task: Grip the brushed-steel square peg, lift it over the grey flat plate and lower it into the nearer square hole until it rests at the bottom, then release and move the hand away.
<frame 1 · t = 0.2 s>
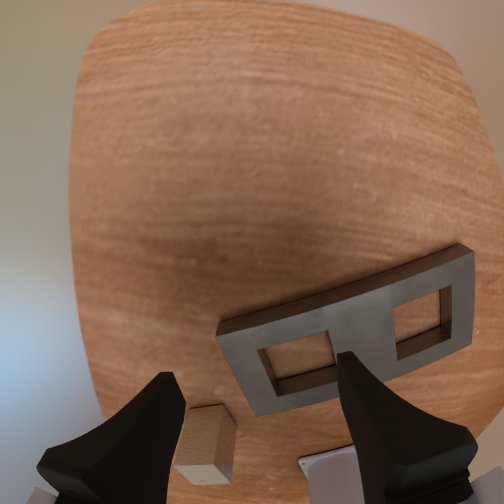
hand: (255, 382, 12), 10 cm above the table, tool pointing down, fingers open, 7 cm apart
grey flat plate: (359, 332, 22), on the table
steel peg: (213, 418, 26), on the table
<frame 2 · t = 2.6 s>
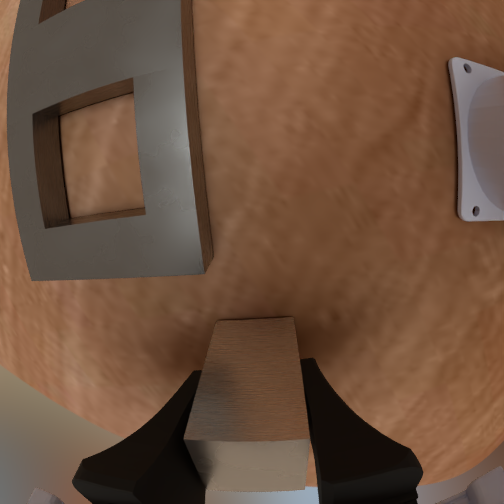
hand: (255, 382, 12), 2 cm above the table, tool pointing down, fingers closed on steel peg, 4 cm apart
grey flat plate: (100, 55, 10), on the table
steel peg: (257, 350, 14), on the table, touching gripper
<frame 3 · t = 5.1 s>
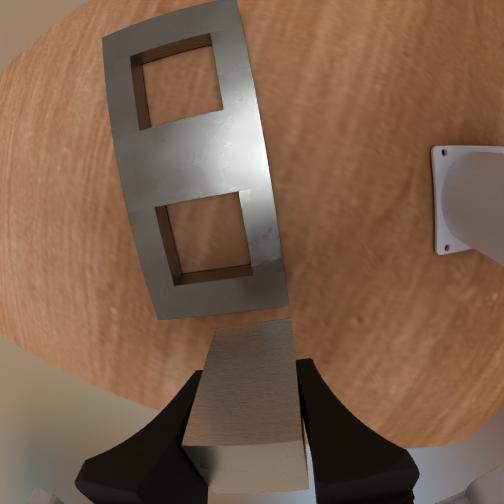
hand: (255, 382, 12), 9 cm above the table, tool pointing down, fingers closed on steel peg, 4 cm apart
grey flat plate: (194, 158, 18), on the table
steel peg: (259, 353, 14), point 7 cm above the table, touching gripper
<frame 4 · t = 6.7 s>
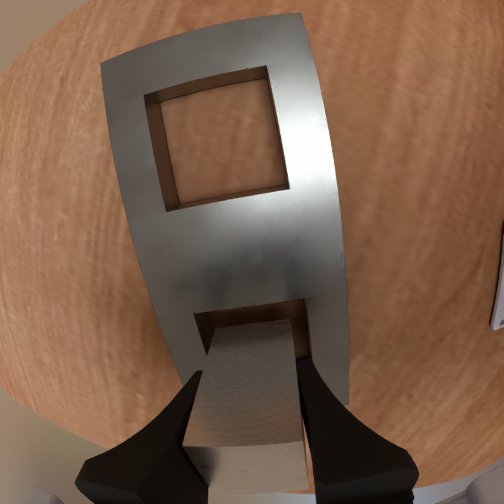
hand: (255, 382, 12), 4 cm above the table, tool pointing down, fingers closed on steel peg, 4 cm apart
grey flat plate: (241, 242, 15), on the table
steel peg: (258, 353, 14), point 2 cm above the table, touching gripper
when the fingers open (3 cm above the table, at t = 8.0 s): steel peg stays where it is, resting in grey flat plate.
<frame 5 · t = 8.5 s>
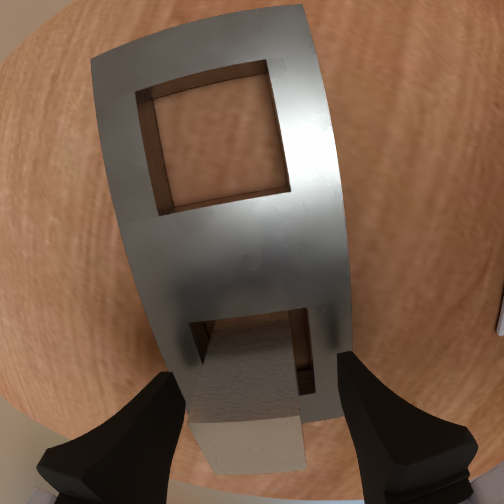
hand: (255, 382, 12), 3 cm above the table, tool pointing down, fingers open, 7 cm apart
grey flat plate: (239, 248, 14), on the table
steel peg: (257, 342, 15), resting in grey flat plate
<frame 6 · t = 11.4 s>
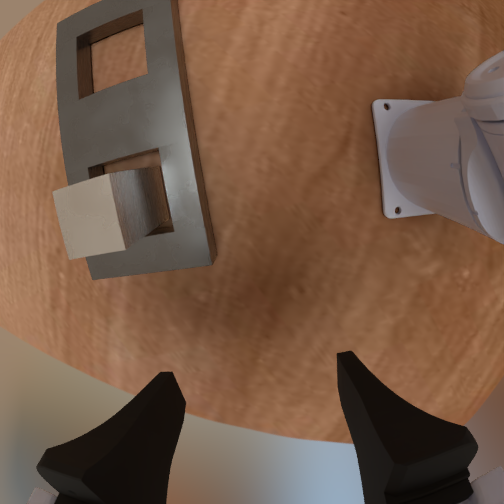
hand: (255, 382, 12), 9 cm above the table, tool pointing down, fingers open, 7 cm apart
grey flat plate: (128, 123, 18), on the table
steel peg: (140, 197, 19), resting in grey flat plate
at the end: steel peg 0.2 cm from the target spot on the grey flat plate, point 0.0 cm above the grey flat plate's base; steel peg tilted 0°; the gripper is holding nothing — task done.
